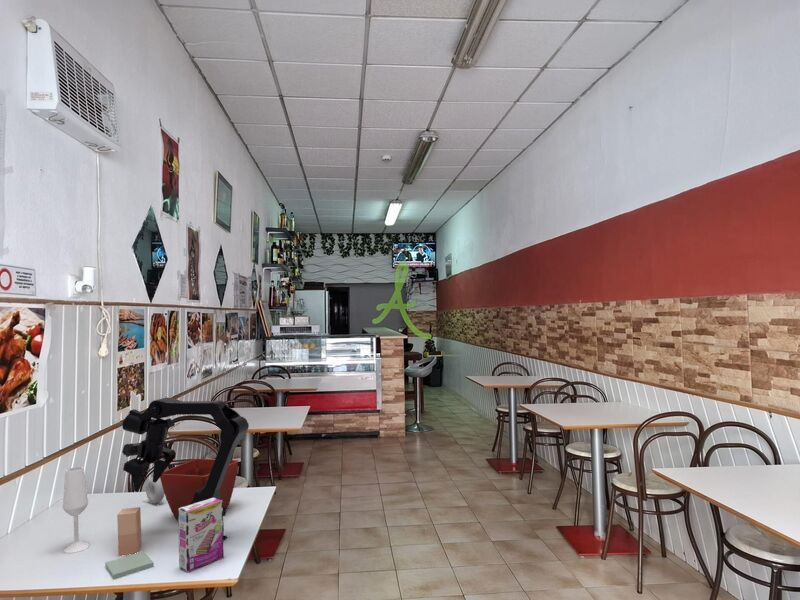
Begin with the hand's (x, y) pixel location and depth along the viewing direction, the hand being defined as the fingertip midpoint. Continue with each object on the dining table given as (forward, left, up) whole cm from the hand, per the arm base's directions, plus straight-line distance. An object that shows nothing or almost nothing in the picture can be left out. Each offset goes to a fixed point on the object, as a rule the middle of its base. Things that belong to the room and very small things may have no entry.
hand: (145, 486), depth 167 cm
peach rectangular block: (-1, +8, -17) cm, 18 cm away
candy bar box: (-28, +9, -17) cm, 34 cm away
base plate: (-9, +16, -16) cm, 25 cm away
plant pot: (-2, -22, -17) cm, 28 cm away
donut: (+24, -28, -17) cm, 40 cm away
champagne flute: (+18, +10, -17) cm, 26 cm away
